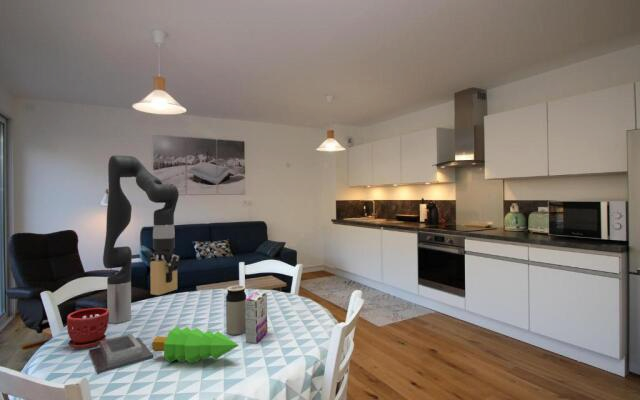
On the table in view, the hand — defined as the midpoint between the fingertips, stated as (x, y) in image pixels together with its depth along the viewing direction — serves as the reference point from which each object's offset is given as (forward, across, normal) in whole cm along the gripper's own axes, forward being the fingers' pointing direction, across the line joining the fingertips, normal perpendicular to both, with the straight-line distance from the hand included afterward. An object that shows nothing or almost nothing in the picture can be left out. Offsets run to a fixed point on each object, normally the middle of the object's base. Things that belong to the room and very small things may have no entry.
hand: (164, 281), depth 127 cm
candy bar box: (+23, +31, +15) cm, 42 cm away
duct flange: (+23, -6, -14) cm, 27 cm away
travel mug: (+23, +20, +18) cm, 35 cm away
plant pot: (+23, -26, -11) cm, 37 cm away
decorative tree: (+23, +22, -9) cm, 33 cm away
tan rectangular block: (+4, 0, 0) cm, 4 cm away
